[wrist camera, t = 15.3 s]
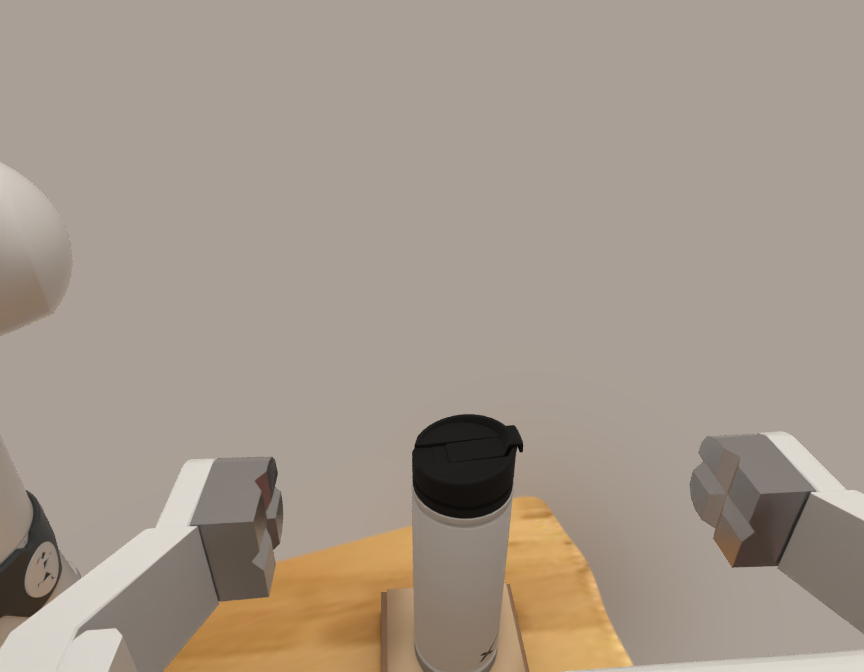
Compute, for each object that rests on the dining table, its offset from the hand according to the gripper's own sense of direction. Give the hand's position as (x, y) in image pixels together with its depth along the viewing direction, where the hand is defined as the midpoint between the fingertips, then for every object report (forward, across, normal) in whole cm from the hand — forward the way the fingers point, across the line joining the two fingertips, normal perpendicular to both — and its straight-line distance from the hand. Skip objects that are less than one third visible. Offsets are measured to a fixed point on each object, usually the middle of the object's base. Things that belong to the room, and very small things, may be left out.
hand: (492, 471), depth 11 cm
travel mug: (+18, -2, +34) cm, 39 cm away
